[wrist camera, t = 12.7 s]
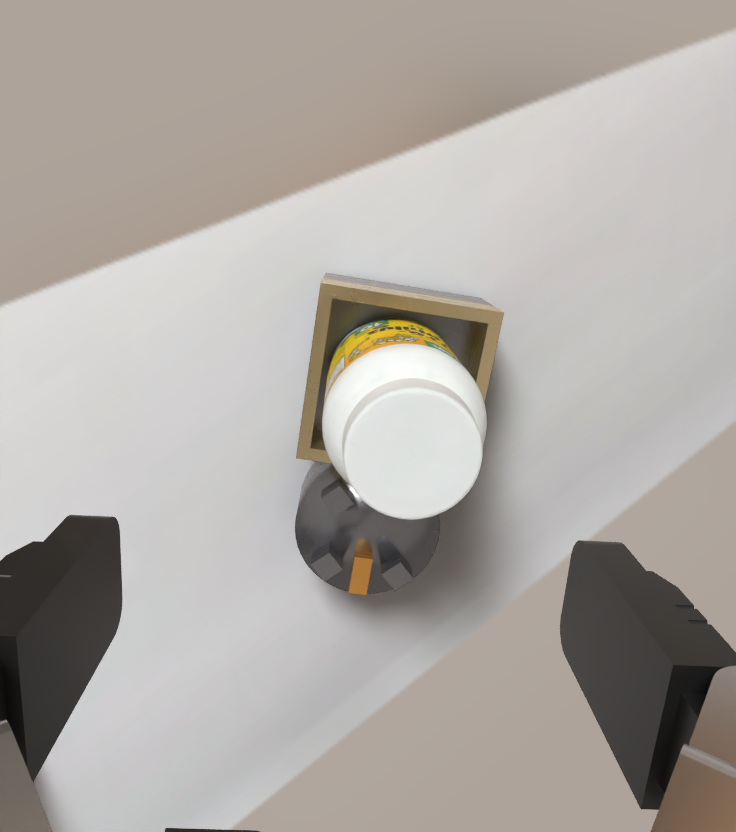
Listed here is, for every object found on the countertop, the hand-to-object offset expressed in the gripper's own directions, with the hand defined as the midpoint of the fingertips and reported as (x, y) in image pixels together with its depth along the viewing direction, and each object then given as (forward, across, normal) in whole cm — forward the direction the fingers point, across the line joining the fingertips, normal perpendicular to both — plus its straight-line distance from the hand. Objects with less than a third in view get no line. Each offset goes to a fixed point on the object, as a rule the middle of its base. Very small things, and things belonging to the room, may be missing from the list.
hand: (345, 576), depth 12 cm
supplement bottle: (+17, -2, 0) cm, 17 cm away
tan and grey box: (+20, -2, +3) cm, 20 cm away
